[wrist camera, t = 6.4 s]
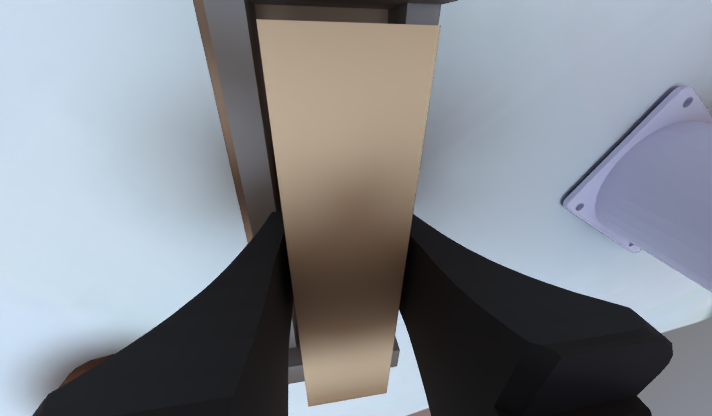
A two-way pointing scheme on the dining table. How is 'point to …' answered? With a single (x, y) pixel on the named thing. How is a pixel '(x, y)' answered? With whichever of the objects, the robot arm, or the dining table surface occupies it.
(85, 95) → the dining table surface
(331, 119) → the door panel
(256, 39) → the hinge base
